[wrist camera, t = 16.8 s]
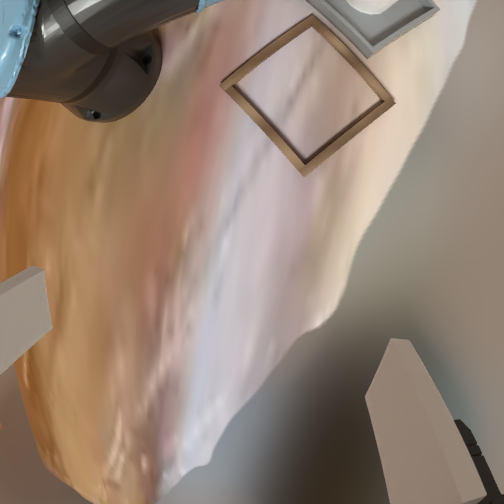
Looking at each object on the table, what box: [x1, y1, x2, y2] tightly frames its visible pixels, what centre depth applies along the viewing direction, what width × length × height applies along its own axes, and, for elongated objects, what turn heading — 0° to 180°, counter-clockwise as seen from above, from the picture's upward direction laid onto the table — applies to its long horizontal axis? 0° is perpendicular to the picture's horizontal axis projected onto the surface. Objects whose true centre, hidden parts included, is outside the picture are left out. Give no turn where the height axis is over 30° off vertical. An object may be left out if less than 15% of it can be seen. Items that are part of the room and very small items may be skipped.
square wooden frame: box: [220, 15, 396, 177], centre depth 32 cm, size 15×15×1 cm
